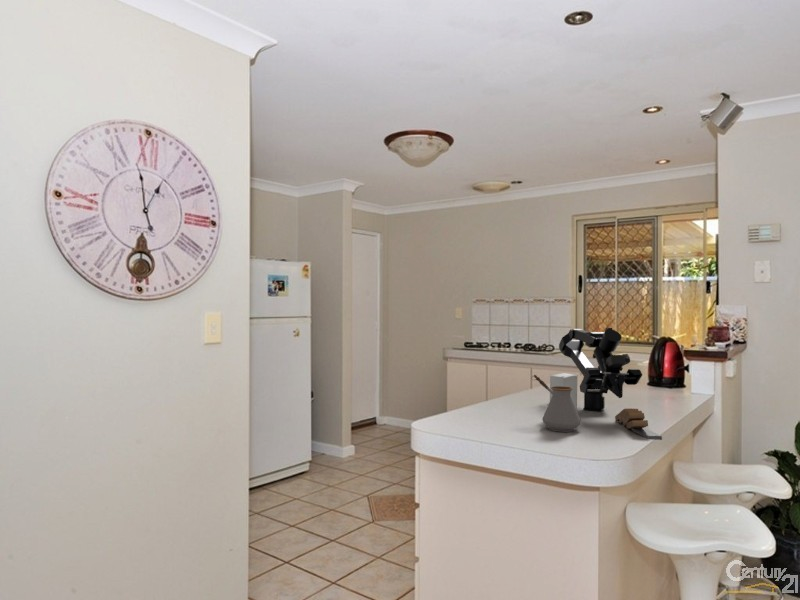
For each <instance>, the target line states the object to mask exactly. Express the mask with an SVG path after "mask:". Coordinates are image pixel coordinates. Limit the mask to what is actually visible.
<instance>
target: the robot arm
mask: <svg viewBox="0 0 800 600" xmlns="http://www.w3.org/2000/svg"><path fill="white" fill-rule="evenodd" d="M604 330H605V331H588V330H584V329H582V328H572V329H570V330H569V331H568V333H566V334H565V335H563V336H562V337H561V339H560V340H559V344H558V349H559V351H560V353H561V354H563V355H564V356H565V357H567V358H570V359H571V360H572V362H573V363H574V365H575V366H576V367H577V369H578V370H579V372H580V373H581V375H582V376H583V378H582V380H581V383H580V384H579V391H580V392H581V393H583V399H584V400H583V401H584V402H583V404H584V405H583V408H582V409H583V410H584V411H586V410H587V411H597V412H602V411H603V410H604V409H605V406H606V405H605V404H606V403H605V402H606V401H605V400H606V399H605V396H604V394H608V391H610V392H612V394H613V395H614V396H616V397H617V398H618V399H622V398H623V391H624V390H623V387H624V386H623V385H624V384H626V385H627V386H632V385H633V386H634V385H635V386H636V385H637V384H638V383H639V381H640V380H641V378H642V377H643V372H642V371H641V369H639V368H629V369H627V370H626V372H621V371H622V370H623V369H624V368H623V367H624V366H626V365H628V364H630V363H631V357H630V356H629V354H628V353H622V354H613V353H614V352H615V351H616V349H617V348H618V346H619V344H620V342H621V340H622V334H620V333H619V332H618V331H616V330H615V329H613V327H606V328H605V329H604ZM584 346H587V347H588V348H591V349H592V348H593V354H592V358H593V359H595V360H596V362H597V364H598V366H597V367H595V366H594V365H593V364H592V363H591V362H590V360H589V359H588V358H587V356H586V355H585V354H584V353H583V351H582V350H583V347H584Z"/></svg>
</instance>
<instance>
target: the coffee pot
mask: <svg viewBox="0 0 800 600" xmlns="http://www.w3.org/2000/svg"><path fill="white" fill-rule="evenodd" d="M533 377H534V378H535V379H534V381H536V382H537V381H538V383H539V385H541V386H542V387H543V388H545V390H547V391H548V393H549V394H550V393H551V394H552V395H553V396H552V398H551V400H550V399H549V402H548V404H547V407H546V409H545V411H544V414H543V416H542V419H541V420H542V421H543V422H542V423H543V424H544V425H545V427H548V429H549V430H550V431H553V432H554V431H555V432H559V433H560V432H561V433H568V432H569V433H571V432H574V431H575V430H576V429H577V428H578V427H579V426H580V425H581V423H582V421H581V417H580V416H579V413H578V409H577V410H576V408H575V406H574V403H573V401H572V398H571V396H570V393H571V390H572V388H571V387H561V386H555V387H551V389H552V390H551V389H550V386H548V385H547V384H546V383H545V381H544V380H542V379H540V377H539V376H537V374H534V375H532V376H531V380H533Z"/></svg>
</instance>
